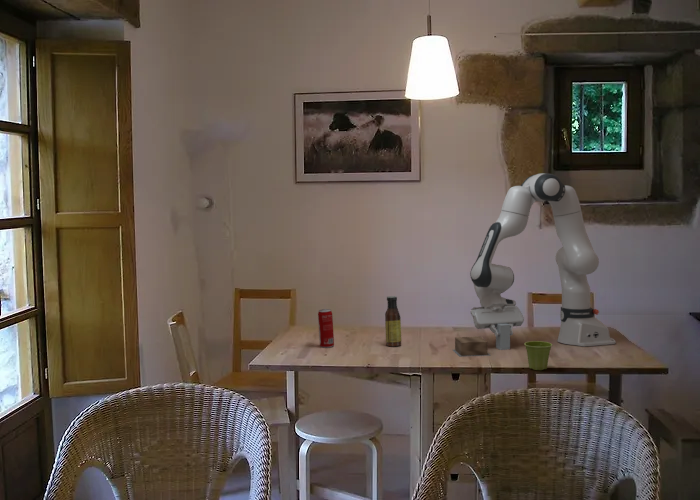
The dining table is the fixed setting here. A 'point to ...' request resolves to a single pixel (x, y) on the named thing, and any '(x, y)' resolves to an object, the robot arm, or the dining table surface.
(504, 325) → the pillar block
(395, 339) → the sauce bottle
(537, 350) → the plant pot
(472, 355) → the grey mat
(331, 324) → the beverage can
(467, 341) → the walnut base block
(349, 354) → the dining table surface
